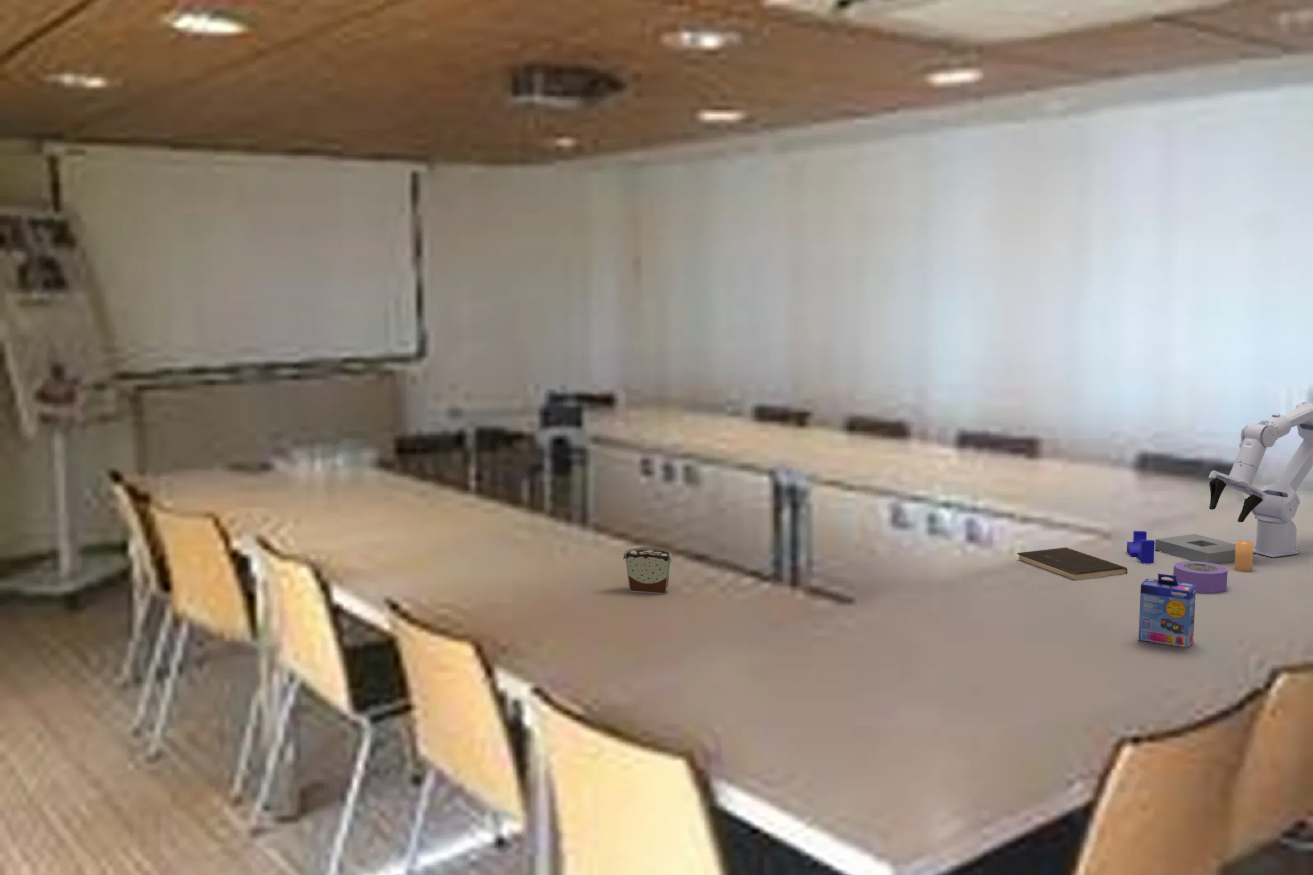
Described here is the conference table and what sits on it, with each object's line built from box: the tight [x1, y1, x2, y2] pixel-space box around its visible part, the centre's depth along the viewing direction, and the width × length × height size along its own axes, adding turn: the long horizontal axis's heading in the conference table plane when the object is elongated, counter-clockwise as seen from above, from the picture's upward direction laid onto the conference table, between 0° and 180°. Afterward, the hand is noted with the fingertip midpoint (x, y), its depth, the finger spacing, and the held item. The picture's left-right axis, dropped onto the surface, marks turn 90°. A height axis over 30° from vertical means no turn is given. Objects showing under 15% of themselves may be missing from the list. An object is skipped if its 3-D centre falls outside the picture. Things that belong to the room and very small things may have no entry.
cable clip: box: [1126, 530, 1155, 564], centre depth 320 cm, size 12×4×6 cm, turn 169°
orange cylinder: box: [1233, 540, 1254, 573], centre depth 306 cm, size 4×4×7 cm
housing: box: [1154, 533, 1236, 565], centre depth 322 cm, size 14×18×3 cm
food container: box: [622, 546, 674, 595], centre depth 296 cm, size 12×6×10 cm, turn 71°
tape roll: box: [1172, 560, 1229, 594], centre depth 291 cm, size 12×12×5 cm
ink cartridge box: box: [1138, 573, 1197, 648], centre depth 250 cm, size 10×6×14 cm, turn 55°
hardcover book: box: [1016, 546, 1128, 581], centre depth 312 cm, size 16×23×2 cm
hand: (1226, 515), depth 311 cm, fingers open, 7 cm apart
